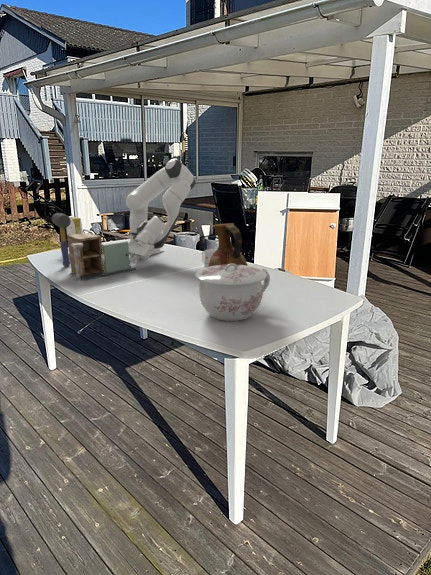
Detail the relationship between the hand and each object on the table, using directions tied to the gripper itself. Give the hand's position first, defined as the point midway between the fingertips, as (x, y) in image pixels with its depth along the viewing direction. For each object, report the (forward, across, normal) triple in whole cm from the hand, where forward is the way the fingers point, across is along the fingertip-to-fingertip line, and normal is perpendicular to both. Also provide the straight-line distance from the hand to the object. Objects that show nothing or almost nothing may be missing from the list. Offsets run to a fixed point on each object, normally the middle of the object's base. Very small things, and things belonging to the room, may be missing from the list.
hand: (130, 262), depth 219 cm
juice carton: (+6, +60, -1) cm, 60 cm away
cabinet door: (+9, +2, +2) cm, 9 cm away
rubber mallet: (+19, +32, +12) cm, 39 cm away
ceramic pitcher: (-10, -56, -17) cm, 60 cm away
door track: (+12, +2, +6) cm, 14 cm away
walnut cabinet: (+18, +10, +12) cm, 24 cm away
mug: (-18, -30, -26) cm, 44 cm away
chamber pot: (+9, -84, +2) cm, 85 cm away
